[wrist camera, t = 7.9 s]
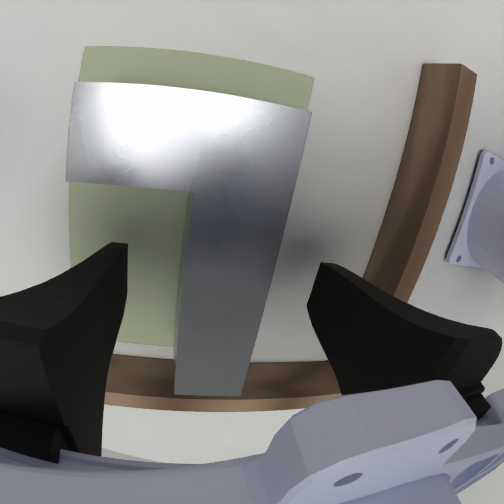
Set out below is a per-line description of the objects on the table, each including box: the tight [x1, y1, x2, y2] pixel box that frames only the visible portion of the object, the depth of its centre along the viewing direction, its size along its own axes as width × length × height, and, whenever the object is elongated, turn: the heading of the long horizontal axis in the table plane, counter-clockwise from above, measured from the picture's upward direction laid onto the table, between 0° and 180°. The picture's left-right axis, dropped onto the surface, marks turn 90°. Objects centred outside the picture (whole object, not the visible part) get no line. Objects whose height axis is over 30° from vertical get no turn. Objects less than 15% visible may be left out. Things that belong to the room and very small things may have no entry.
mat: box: [69, 46, 314, 347], centre depth 14 cm, size 10×15×1 cm, turn 169°
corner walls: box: [104, 64, 477, 412], centre depth 13 cm, size 21×21×3 cm
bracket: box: [66, 82, 312, 396], centre depth 12 cm, size 12×7×4 cm, turn 169°
